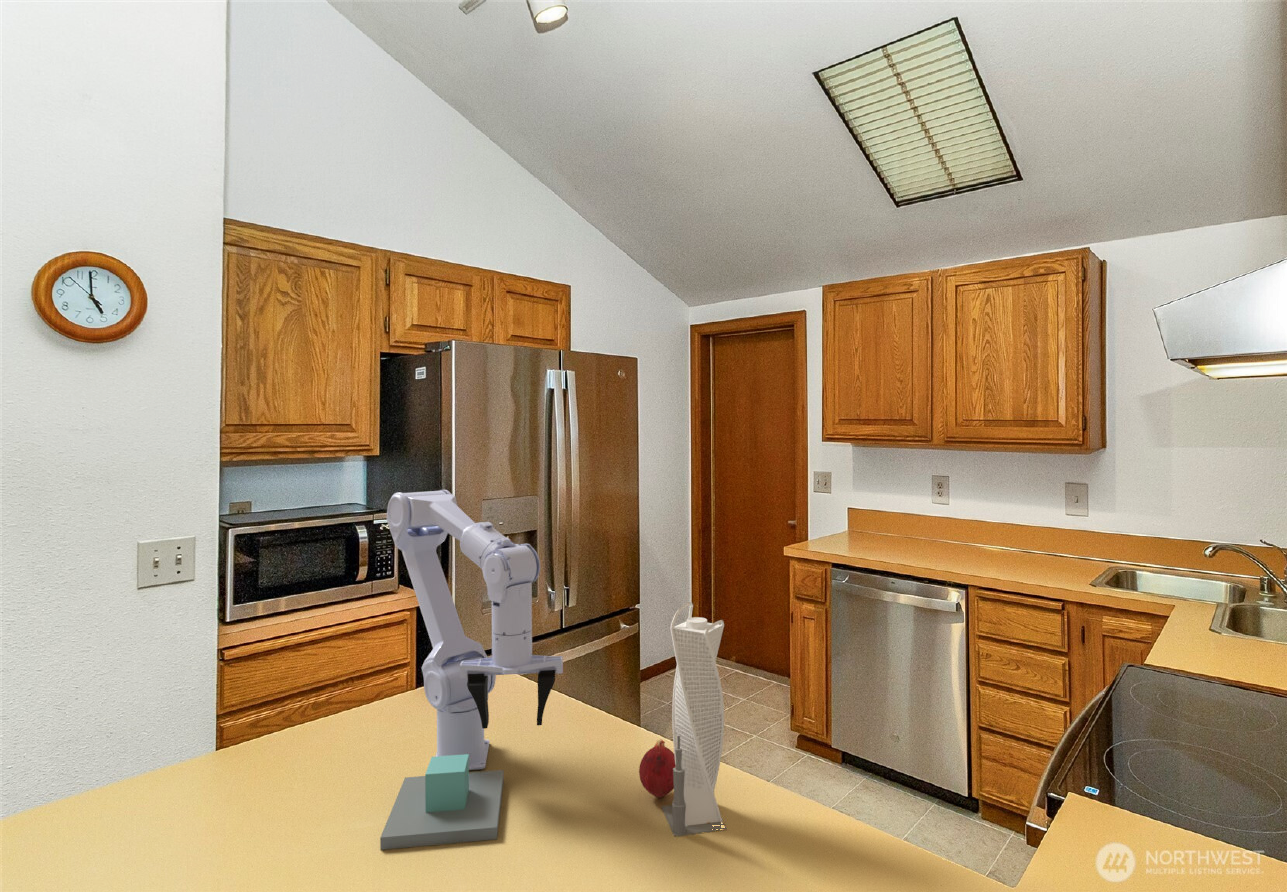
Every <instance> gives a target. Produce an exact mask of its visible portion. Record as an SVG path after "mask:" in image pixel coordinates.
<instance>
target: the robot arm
mask: <svg viewBox="0 0 1287 892" xmlns="http://www.w3.org/2000/svg"><path fill="white" fill-rule="evenodd" d="M457 502H458V501H457V497H456V496H455V494H452V493H451V492H450V491H449V490H447V489H440V490H433V491H432V490H431V491H430V490H429V491H416V492H401V491H400V492H395V493H393V494H392V495H391V498H390V499H389V501H388V504H387V510H386V522H387V525H388V529H389V531H390V535H391V537H392V539H393V543H394V546H395V548H397V549H398V550H400V551H401V553H402V557H403V560H404V562H405V565H406V569H407V571H408V576H409V578H410V580H411V584H412V587H413V590H414V595H415V596H416V600H417V602H418V605H419V609H420V613H421V615H422V617H423V621H424V625H425V628H426V631H427V633H428V634H427V635H428V636H429V637H428V638H429V639H430V640H429V641H430V643H431V647H432V650H431V652H429V654H428V655H427V657H426V658H425V659H424V661H423V664H422V666H421V673H422V676H423V690H424V694H425V697H426V700H427V702H428V703H429V704H430V705H431V706H432V708H434V709H435V710H436V753H435V756H434V757H436V756H450V755H464V754H469V771H473V770H483V769H486V765H487V759H488V752H489V747H490V739H485V729H488V726H489V723H490V722H489V721H490V715H489V713H490V712H489V703H488V701H489V694H490V693H491V692H492V691H493V689H494V688H495V685H496V679H497V676H504V675H505V676H508V675H525V674H537V710H536V726H542V725H543V716H544V712H545V708H546V703H547V700H548V698H549V696H550V694H551V691H552V689H553V686H554V684H555V682H556V675H558V674H559V675H560V674H563V673H564V668H563V667H564V657H563V656H561V655H559V656H556V655H554V656H552V655H551V656H550V655H537V654H536V655H535V654H533V607H532V606H533V603H532V602H533V595H532V594H533V587H532V585H533V583H534V582H536V581H537V579H538V578H539V575H540V572H541V561H540V556H539V554H538V553H537V550H535V548H534V547H533V546H532V545H531V544H530V543H521V544H519V543H514V542H512V540H511V539H510V538H509V537H508V536H505V535H504V534H502V532H499V531H498V530H496V528H494V524H492V523H491V522H490V521H486V522H485V521H483V522H482V521H480V522H475V521H474V520H473V519H472V518H471V517H469V515H467V514H466V513H465V512H464V511H463V510H462V509H461V508H460V507H459V506H458V503H457ZM448 535H451V536H452V537H453V538H454V539H456V540H458V541H459V549H460V551H461V552H462V553H461V554H463V555H464V556H466V557H467V558H468V559H469V560H470V561H471V562H473V563H474V564H475V565H477V567H478V568H479V569H481V570H482V571H481V572H482V575H483V579H484V581H485V585H486V588H487V597H488V601H491V656H489V657H488V655H487V653H486V651H485V649H484V647H483V644H482V643H480V642H478V641H477V640H474V639H472V638H469V637H468V636H466V635H465V632H464V628H463V626H462V623H461V620H460V617H459V614H458V611H457V608H456V606H455V602H454V599H453V597H452V593H451V590H450V588H449V585H448V581H447V579H446V577H445V573H444V570H443V568H442V564H441V562H440V559H439V556H438V554H437V547H438V546H440V545H441V544H442V543H443V542H445V541H446V539H447V536H448Z"/></svg>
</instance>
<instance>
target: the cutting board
mask: <svg viewBox="0 0 1287 892" xmlns="http://www.w3.org/2000/svg"><path fill="white" fill-rule="evenodd" d="M504 778H505V777H504V769H499V770H497V769H496V770H487V771H484V770H483V771H474V772H473V771H471V772H470V771H469V792H468V797H467V801H466V806H465V809H462V810H449V811H437V812H426V810H425V775H421V776H408V777H404V780H403V781H402V783H401V786H400V788H399V791H398V794H397V796H396V799H395V801H394V804H393V806H392V808H391V810H390V812H389V813H390V814H389V816H388V818H387V820H386V823H385V826H384V828H383V830H382V833H381V835H380V837H379V838H380V843H379V845H380V846H379V847H380V849H379V850H381V851H382V850H383V851H384V850H391V849H402V848H415V847H425V846H435V845H446V844H458V843H459V844H460V843H468V842H469V843H470V842H471V843H472V842H478V841H479V842H480V841H491V840H492V841H493V840H497V839H498V833H499V824H500V817H501V816H500V815H501V807H502V806H501V805H502V797H503V787H504V780H505V779H504Z"/></svg>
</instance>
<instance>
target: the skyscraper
mask: <svg viewBox="0 0 1287 892" xmlns="http://www.w3.org/2000/svg"><path fill="white" fill-rule="evenodd" d="M687 607H689V611H688V617H687V618H686V621H684V622H682V623H679V624H677V625H675V623H676V620H677V618H678V615H680V612H681V611H682V610H683V609H685V608H687ZM693 608H694V604H693V602H686V603H684V604H683V605H681V606H680V607H678V609H677V610H676V611H675V614H674V615H673V618H672V621H671V622H670V623H671V624H670V627H669V629H670V634H671V635H670V636H671V639H672V640H671V641H672V645H673V651H674V656H675V661H676V668H675V675H674V681H673V690H672V704H671V705H672V707H671V708H672V711H671V716H672V717H671V720H672V725H671V726H672V742H673V753H674V755H675V764H676V767H675V768H673V781H674V789H673V801H671V804H670V805H668V804H667V805H663V806H661V809H662V812H663V814H664V817H665V818H666V821H667V823H668V825H669V828H670V830H671V832H672V834H673V836H674V837H676V838H677V837H681V836H689V835H690V836H691V835H697V834H696V833H699V834H703V833H702V832H707V833H712V832H711V831H715V830H716V829H718V830H720V829H727V830H728V828H727V826H726V825H725V823H724V821H723V818H722V815H721V814H722V813H721V812H720V809H719V805H718V802H717V799H716V796H715V789H716V785H717V779H718V774H719V770H720V765H721V760H722V759H721V758H722V753H723V745H724V733H725V732H724V731H725V704H724V695H723V689H722V683H721V678H720V674H719V669H718V666H717V657H718V655H719V654H718V653H719V649H720V645H721V640H722V636H723V633H724V628H725V623H724V620H723V619H720V620H717V621H715V622H713V623H712V622H708V619H707V618H705V617H700V616H699V617H698V616H697V617H696V616H694V617H692V615H693V610H694V609H693ZM721 822H723V824H721ZM712 825H720V826H714V827H713V826H712ZM721 825H725V826H726V827H725V828H721ZM712 829H713V830H712ZM715 832H716V831H715Z"/></svg>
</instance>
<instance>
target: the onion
mask: <svg viewBox="0 0 1287 892" xmlns="http://www.w3.org/2000/svg"><path fill="white" fill-rule="evenodd" d="M639 763H640V764H639V766H638V767H639V768H638V773H639V780H640V782H641V785H642V787H643V788H644V789H645V790H646V791H647V792H648V793H649V794H651V795H652V796H654V797H656V798H658V799H663V798H664V797H665V796H667V795H669V794H670V793H671V792H672V791H674V781H673V768H675V767H676V764H675V755H674V751H672V749H670V748H668V747H667V746H665V741H664V740H663V739H661V738H660V739H659V740H656V743H655V744H654V746H653V747H651V748H650V749H648V751H646V752H645V754H644V755H643V757H642V758H641V761H640V762H639Z"/></svg>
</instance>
